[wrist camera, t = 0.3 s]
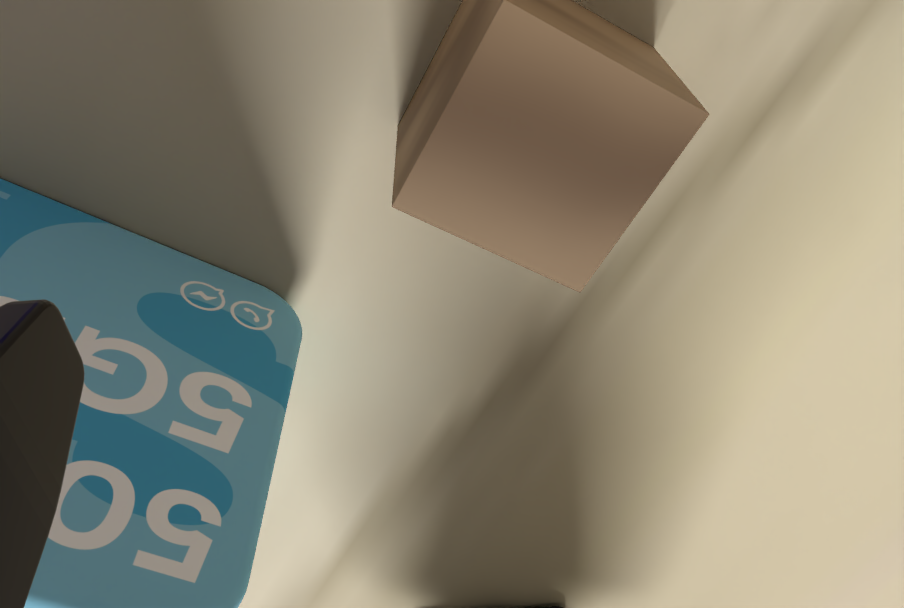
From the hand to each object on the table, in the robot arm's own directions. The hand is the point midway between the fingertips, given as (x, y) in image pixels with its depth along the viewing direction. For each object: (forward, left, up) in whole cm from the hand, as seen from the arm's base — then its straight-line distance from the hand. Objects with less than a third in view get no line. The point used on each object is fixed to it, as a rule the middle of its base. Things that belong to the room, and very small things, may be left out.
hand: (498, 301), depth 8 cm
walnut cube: (-3, -1, -14) cm, 15 cm away
